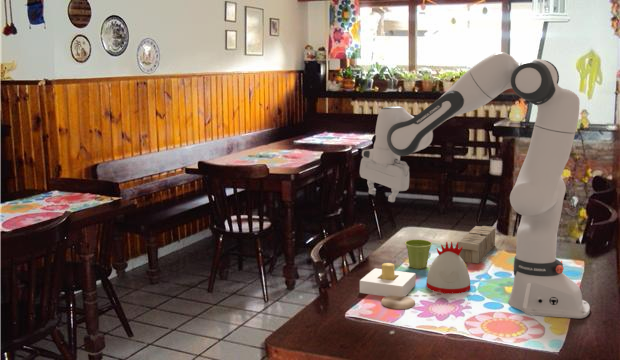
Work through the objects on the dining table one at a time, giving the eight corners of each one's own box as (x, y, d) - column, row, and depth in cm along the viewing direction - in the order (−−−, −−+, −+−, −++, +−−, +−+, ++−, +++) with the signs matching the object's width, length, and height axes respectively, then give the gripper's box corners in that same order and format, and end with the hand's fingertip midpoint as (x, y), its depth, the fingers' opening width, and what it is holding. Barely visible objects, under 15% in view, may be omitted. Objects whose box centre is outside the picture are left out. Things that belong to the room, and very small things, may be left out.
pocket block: (415, 285, 212) (415, 273, 211) (402, 298, 199) (402, 286, 199) (374, 279, 218) (374, 268, 217) (359, 292, 205) (359, 280, 205)
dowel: (395, 287, 210) (396, 263, 208) (392, 291, 206) (392, 267, 205) (384, 286, 211) (384, 262, 210) (380, 290, 208) (380, 265, 206)
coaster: (419, 300, 198) (419, 298, 198) (409, 311, 189) (409, 309, 189) (387, 295, 202) (387, 293, 202) (376, 306, 194) (376, 304, 193)
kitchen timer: (471, 295, 202) (472, 248, 200) (426, 292, 205) (426, 246, 202) (469, 280, 216) (470, 237, 213) (427, 278, 218) (427, 235, 216)
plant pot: (433, 270, 227) (434, 246, 226) (406, 270, 227) (406, 246, 226) (429, 262, 236) (429, 239, 235) (403, 262, 236) (403, 239, 235)
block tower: (475, 245, 262) (456, 262, 236) (476, 225, 261) (456, 240, 235) (495, 247, 258) (477, 265, 232) (496, 227, 257) (478, 242, 231)
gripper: (416, 162, 203) (410, 205, 206) (372, 149, 219) (368, 189, 222) (401, 163, 199) (396, 207, 202) (358, 150, 215) (354, 190, 218)
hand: (381, 197), depth 212 cm, fingers open, 8 cm apart
